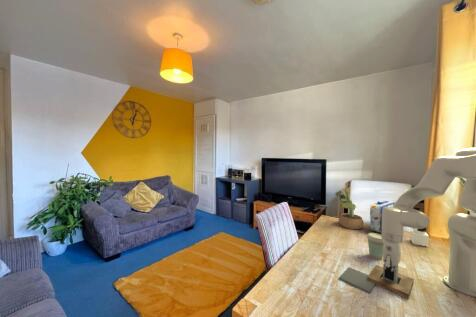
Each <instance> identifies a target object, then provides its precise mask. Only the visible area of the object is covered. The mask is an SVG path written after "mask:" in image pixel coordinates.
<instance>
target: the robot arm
mask: <svg viewBox="0 0 476 317" xmlns="http://www.w3.org/2000/svg"><path fill="white" fill-rule="evenodd" d="M455 178H457V179H466V181H465V184H464V186H463V190H462V192H461V197H460V200H459V205H460V207H461V208H463V209H464V210H466V211H467V212H471V213H474V214H476V147H469V148H462V149H460V150H457V151H456V153H455V156H454V155H453V156H452V155H451V156H450V155H449V156H448V155H446V156H445V155H444V156H439V157H436V159H434V160H433V161H432V163H431V164H430V166H429V168H428V169H427V170H426V171H425V174H424V175H423V177H422V178H421V179H420V181H419V182H418V184H416V185H415V186H413V187H411V188H409V189H408V190H407V191H405V192H404V193H402V194H401V195H400V196H399V197H398V198H397V200H396V201H395V202H396V203H395V205H394V206H393V208H392V207H386V208H383V210H382V232H381V233H380V235H381V238H382V239H384V247H383V257H382V261H383V264H384V263H385V275H384V277H385V278H387V279H390V280H392V281H393V280H394V271H393V268H394V266H398V267H399V264H400V262H401V258H402V253H401V252H402V251H401V250H402V248H401V247H402V245H401V244H403V242H404V228H411V229H413V228H416V229H422V228H425V227H426V228H427V227H428V226H429V225H430V220H431V219H430V218H429V216H428V215H427V214H426V213H424V212H422V211H420V210H417V209H415V208H414V207H415V205H417V204H418V203H419V202H421V201H424V200H427V199H433V198H436V197H437V198H439V197H441V196H443V195H445V193H446V192H447V190H448V189H449V187H450V186H451V184H452V182H453V181H454V180H455ZM447 228H448V231H449V239H450V241H449V256H448V258H449V259H448V260H449V261H448V275H445V276H443V280H442V281H443V282H444V284H445V285H447V286H448V287H449V288H451V289H453V290H455V291H457V292H459V293H461V294H464V295H466V296H469V297H474V298H476V216H475V215H471V214H467V213H461V212H460V213H454V214H452V215H450V216H449V217H448V220H447ZM390 262H391V263H390ZM390 265H392V268H391V266H390Z"/></svg>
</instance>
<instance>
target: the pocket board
mask: <svg viewBox="0 0 476 317" xmlns="http://www.w3.org/2000/svg"><path fill="white" fill-rule="evenodd" d="M367 275H368V277H367V280H370V281H372V282H374V283H375V286H378V287H380V288H382V289H384V290H386V291H389V292H391V293H394V294H396V295H398V296H400V297H402V298H406V299H408V300H409V299H410V297H411V296H410V295H411V292H412V289H413V286H414V280H415V279H414V278H413V277H410V276H407V275H405V274H401V273H399V272H398V283H397V284H395V283H392V282H390V281H387V280H385V279H383V266H380V265H378V264H375V266H374V267H373V268H372V270H371V271H370V273H369V274H367Z"/></svg>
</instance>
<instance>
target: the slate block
mask: <svg viewBox="0 0 476 317" xmlns="http://www.w3.org/2000/svg"><path fill="white" fill-rule="evenodd" d="M390 263H391V262H390ZM390 266H391V268H392V265H390ZM382 267H383V277H382V279H385V280H387V281H390V282H392V283H395V284H397V285H398V284H399V282H398V273H399V265H398V266H394V268H393V271H394V280H393V281H392V280H390V279H387V278H385V277H384V275H385V263H384V262H383V266H382Z"/></svg>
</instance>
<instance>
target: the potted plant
mask: <svg viewBox="0 0 476 317" xmlns="http://www.w3.org/2000/svg"><path fill="white" fill-rule="evenodd" d="M345 192H346V193H345ZM334 195H335V196H336V197H339V196H341V195H343V197H344V198H341V199H340V201H341V202H342V201H343V203H342V204H341V207H343V208H344V209H348V210H349V211H348V213H346V212H345V213H341V214H340V216H339V218H338V222H339V225H341V226H342V227H344V228H346V229H350V230H361V229H362V228H364V225H365V221H364V220H363V217H362V216H360V215H358V214H354V211H355V209H356V204H354V203H353V202H352V200H351V198H350V194H349V189H348V188H346V191H344V190H342V189H339V191H337V192H336V193H335V194H334Z"/></svg>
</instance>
